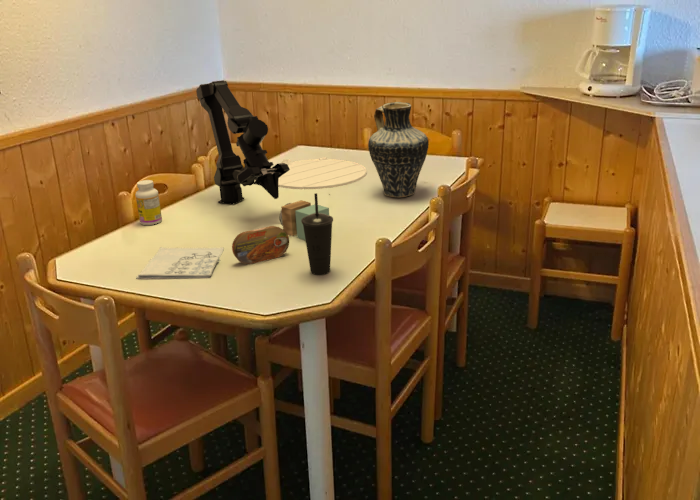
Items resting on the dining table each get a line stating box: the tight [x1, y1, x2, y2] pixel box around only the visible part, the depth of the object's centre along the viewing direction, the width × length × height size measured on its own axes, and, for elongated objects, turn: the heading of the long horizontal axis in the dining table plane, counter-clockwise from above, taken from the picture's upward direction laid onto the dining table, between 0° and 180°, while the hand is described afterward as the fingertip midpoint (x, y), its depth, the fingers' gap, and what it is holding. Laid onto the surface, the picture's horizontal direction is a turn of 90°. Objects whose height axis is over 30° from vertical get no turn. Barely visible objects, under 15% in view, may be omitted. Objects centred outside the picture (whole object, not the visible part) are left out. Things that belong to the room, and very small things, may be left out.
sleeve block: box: [280, 200, 311, 237], centre depth 189 cm, size 4×8×8 cm, turn 136°
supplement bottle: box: [135, 179, 163, 226], centre depth 200 cm, size 7×7×13 cm
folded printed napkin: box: [135, 246, 225, 280], centre depth 171 cm, size 19×20×2 cm
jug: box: [367, 101, 429, 198], centre depth 214 cm, size 21×19×30 cm
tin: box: [231, 225, 290, 265], centre depth 170 cm, size 15×3×8 cm, turn 118°
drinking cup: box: [301, 193, 334, 276], centre depth 159 cm, size 8×8×20 cm
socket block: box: [295, 203, 330, 242], centre depth 184 cm, size 6×8×8 cm
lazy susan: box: [271, 156, 367, 190], centre depth 247 cm, size 40×39×3 cm
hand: (276, 198), depth 193 cm, fingers closed
